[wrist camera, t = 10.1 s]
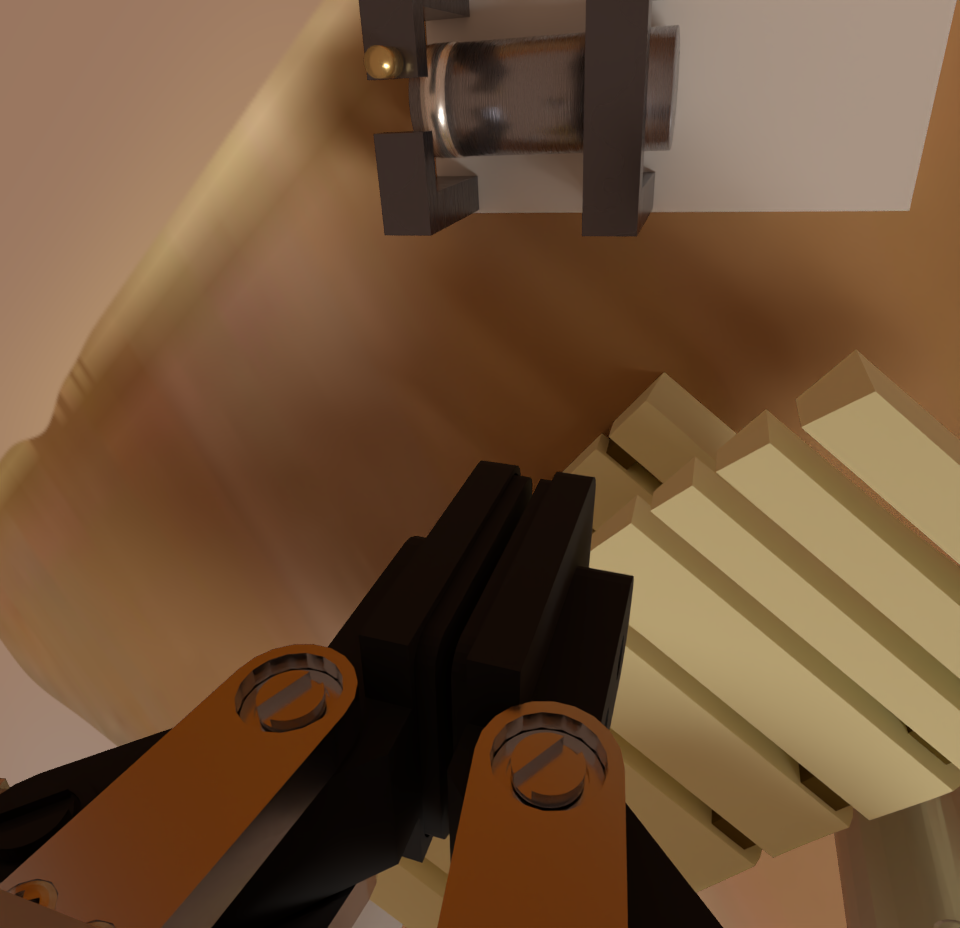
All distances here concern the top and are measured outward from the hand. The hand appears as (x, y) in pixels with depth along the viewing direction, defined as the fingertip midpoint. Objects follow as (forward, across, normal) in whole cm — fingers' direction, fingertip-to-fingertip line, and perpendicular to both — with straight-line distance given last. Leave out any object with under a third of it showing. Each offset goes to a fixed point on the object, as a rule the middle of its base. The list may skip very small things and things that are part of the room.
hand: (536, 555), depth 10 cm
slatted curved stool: (+26, -3, +16) cm, 31 cm away
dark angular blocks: (+25, +10, -6) cm, 27 cm away
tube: (+25, +6, -6) cm, 26 cm away
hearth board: (+25, +1, -6) cm, 26 cm away
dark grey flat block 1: (+25, +2, -6) cm, 26 cm away
